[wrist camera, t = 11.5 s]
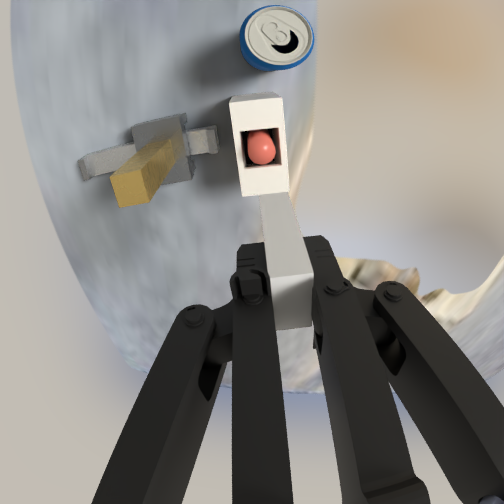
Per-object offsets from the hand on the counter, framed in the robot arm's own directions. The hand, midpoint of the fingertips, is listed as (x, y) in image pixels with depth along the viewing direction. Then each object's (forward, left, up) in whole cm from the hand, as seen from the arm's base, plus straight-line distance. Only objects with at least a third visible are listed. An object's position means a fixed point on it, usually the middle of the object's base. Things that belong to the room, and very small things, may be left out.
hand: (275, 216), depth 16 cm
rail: (0, -14, -24) cm, 28 cm away
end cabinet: (0, 0, -24) cm, 24 cm away
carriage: (0, -11, -24) cm, 26 cm away
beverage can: (-11, +3, -24) cm, 26 cm away
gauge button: (0, 0, -22) cm, 22 cm away
